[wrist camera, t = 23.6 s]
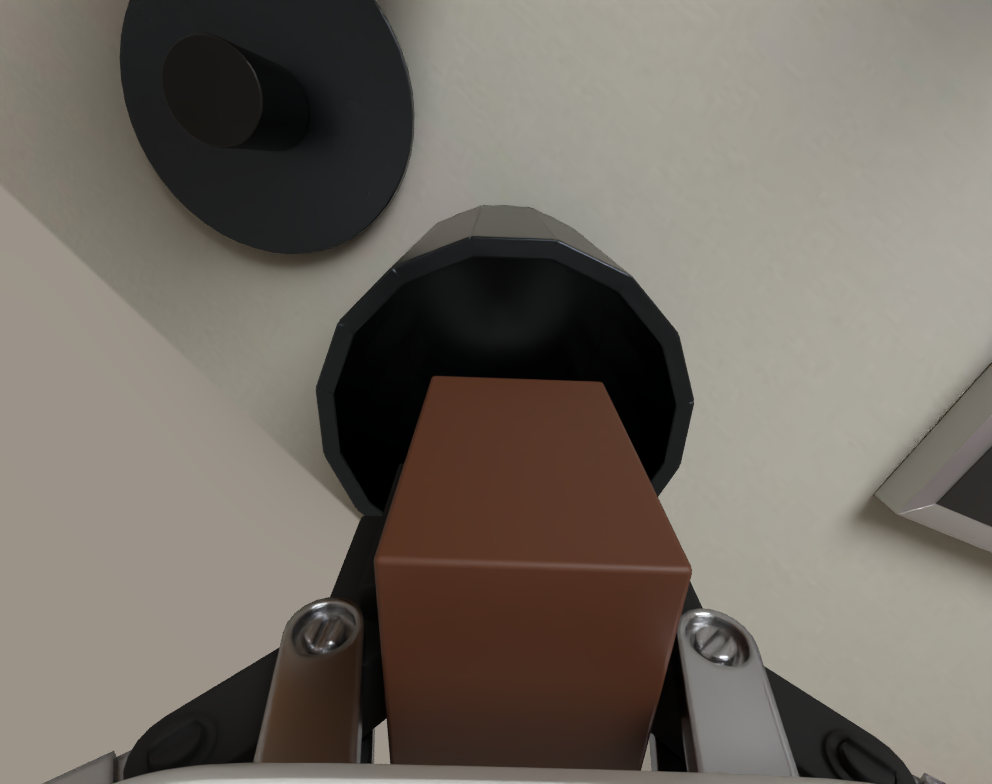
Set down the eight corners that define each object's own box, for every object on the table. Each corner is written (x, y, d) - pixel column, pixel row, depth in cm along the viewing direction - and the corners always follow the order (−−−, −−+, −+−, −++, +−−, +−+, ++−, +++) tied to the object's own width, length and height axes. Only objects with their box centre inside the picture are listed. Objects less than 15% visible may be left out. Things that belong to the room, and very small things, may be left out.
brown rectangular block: (435, 598, 14) (396, 860, 9) (431, 373, 12) (371, 559, 6) (573, 602, 15) (618, 866, 9) (603, 380, 12) (696, 569, 6)
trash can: (396, 414, 30) (336, 565, 19) (385, 200, 25) (294, 229, 14) (596, 421, 31) (656, 574, 19) (625, 209, 26) (730, 245, 14)
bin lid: (173, 245, 26) (84, 267, 21) (101, -74, 21) (-45, -162, 15) (420, 255, 27) (399, 279, 21) (412, -60, 21) (381, -142, 16)
